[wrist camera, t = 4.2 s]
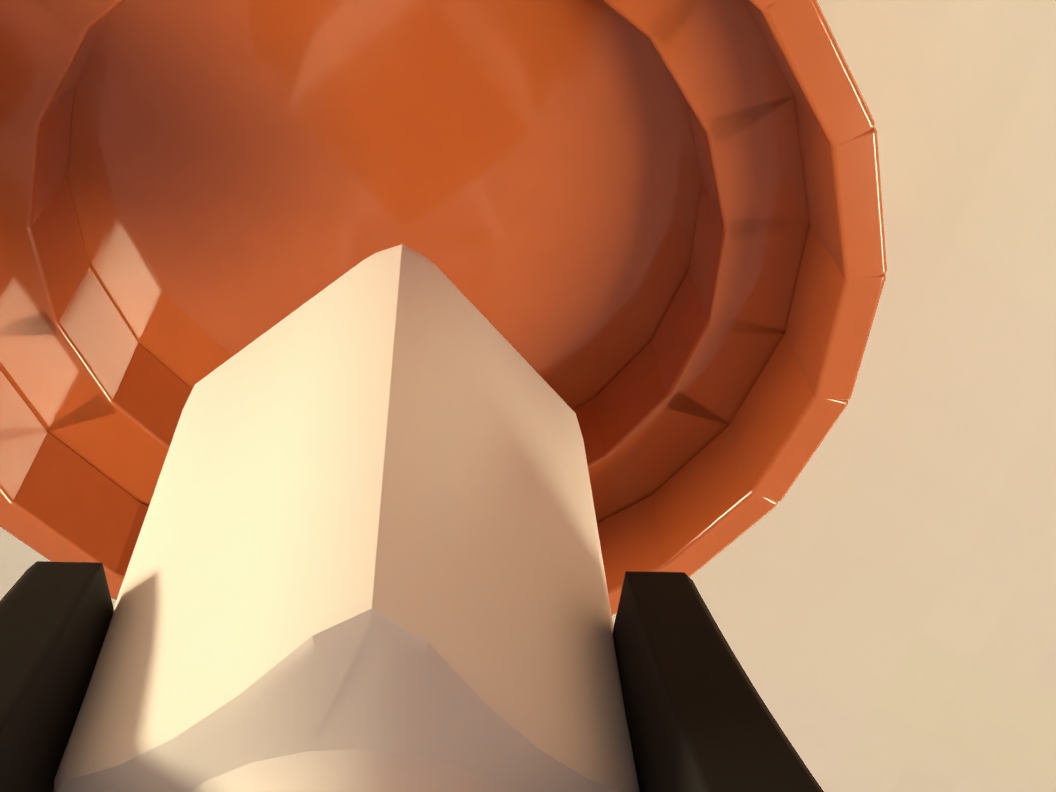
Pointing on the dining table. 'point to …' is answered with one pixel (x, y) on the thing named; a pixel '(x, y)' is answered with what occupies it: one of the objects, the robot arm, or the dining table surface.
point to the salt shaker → (364, 570)
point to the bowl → (437, 232)
